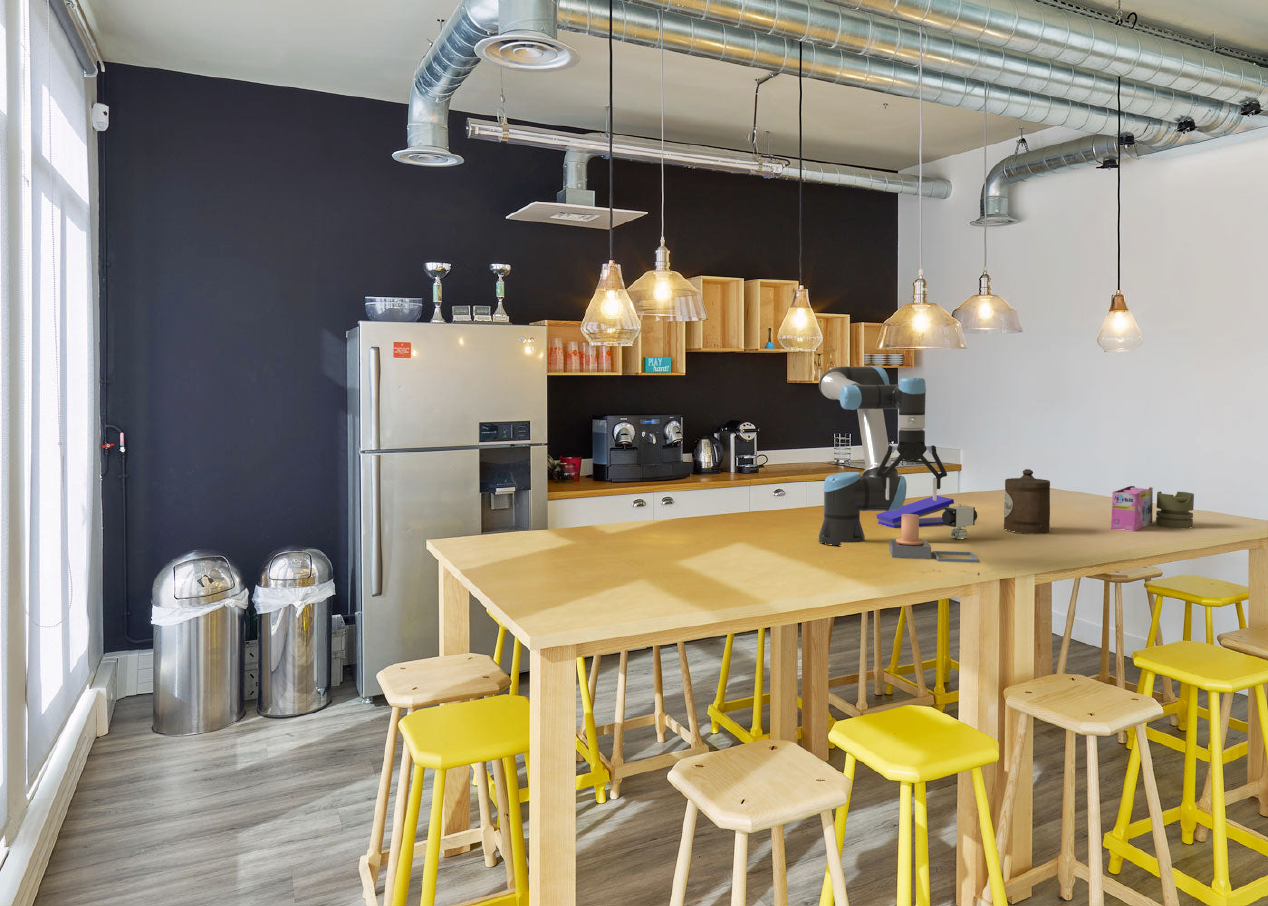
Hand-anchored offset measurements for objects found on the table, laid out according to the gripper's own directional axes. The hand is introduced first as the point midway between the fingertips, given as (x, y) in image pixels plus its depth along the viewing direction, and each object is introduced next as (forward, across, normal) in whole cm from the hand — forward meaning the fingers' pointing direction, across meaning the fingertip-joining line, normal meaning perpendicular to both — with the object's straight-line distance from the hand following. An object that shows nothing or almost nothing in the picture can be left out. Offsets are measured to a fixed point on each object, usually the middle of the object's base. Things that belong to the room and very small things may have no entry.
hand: (910, 499), depth 254 cm
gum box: (+18, +84, +72) cm, 113 cm away
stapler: (+18, +9, +67) cm, 70 cm away
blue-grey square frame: (+18, +12, -2) cm, 22 cm away
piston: (+18, +99, +76) cm, 126 cm away
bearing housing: (+18, 0, 0) cm, 18 cm away
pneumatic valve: (+18, +19, +38) cm, 46 cm away
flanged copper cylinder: (+17, 0, 0) cm, 17 cm away
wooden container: (+18, +45, +58) cm, 75 cm away
